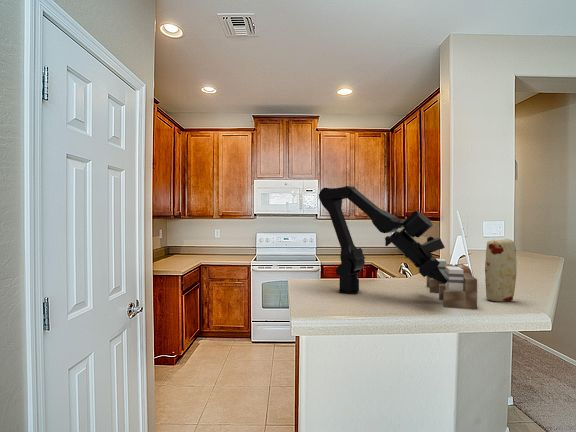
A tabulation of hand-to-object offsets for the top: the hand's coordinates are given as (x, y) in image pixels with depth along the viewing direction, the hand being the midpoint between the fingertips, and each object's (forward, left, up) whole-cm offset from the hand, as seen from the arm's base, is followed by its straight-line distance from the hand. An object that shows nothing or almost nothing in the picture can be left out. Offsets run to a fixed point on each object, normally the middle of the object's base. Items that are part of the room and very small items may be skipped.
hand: (446, 282), depth 103 cm
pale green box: (+2, +17, -6) cm, 19 cm away
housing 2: (+3, 0, -7) cm, 7 cm away
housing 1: (+3, +17, -7) cm, 19 cm away
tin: (+12, +25, -7) cm, 28 cm away
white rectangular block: (+2, 0, -6) cm, 7 cm away
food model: (+18, +7, -7) cm, 20 cm away
